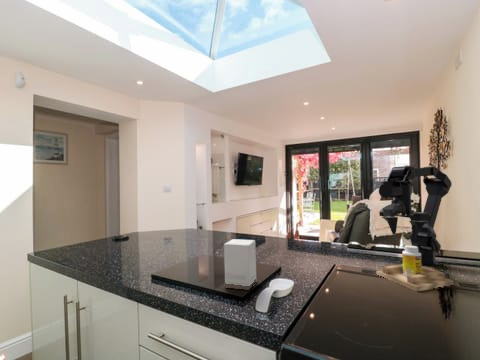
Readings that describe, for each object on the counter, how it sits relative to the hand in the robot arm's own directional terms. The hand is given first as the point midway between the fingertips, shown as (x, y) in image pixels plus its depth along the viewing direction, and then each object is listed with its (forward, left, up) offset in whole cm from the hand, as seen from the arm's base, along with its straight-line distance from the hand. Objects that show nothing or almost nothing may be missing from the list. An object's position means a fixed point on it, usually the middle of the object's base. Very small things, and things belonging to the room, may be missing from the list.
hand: (403, 236), depth 102 cm
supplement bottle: (+8, +10, -12) cm, 17 cm away
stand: (+8, +10, -13) cm, 18 cm away
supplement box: (+67, -5, -13) cm, 68 cm away
